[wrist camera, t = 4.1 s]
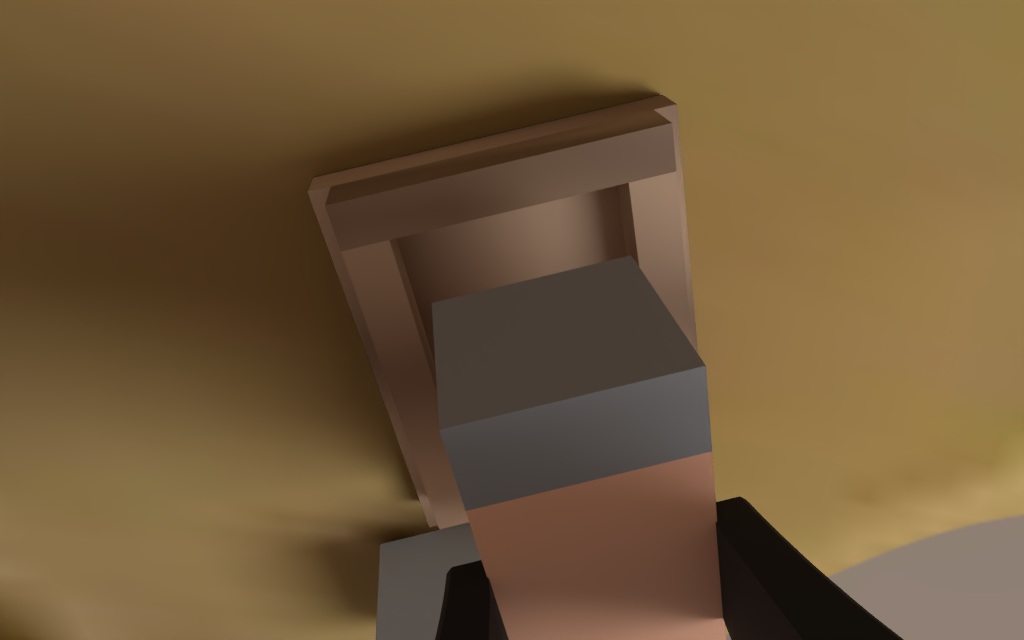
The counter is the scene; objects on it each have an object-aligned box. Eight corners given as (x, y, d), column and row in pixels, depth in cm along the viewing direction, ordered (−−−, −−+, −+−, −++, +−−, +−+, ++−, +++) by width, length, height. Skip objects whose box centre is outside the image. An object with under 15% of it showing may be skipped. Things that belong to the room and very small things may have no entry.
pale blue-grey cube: (519, 592, 23) (539, 709, 20) (412, 619, 23) (413, 741, 20) (496, 514, 21) (513, 627, 18) (380, 542, 21) (374, 662, 18)
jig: (694, 437, 21) (723, 488, 19) (428, 502, 21) (430, 560, 19) (661, 94, 16) (696, 116, 14) (312, 177, 16) (299, 211, 14)
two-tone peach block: (670, 561, 16) (731, 711, 13) (519, 599, 16) (545, 757, 13) (630, 255, 12) (705, 365, 9) (432, 303, 12) (439, 429, 9)
